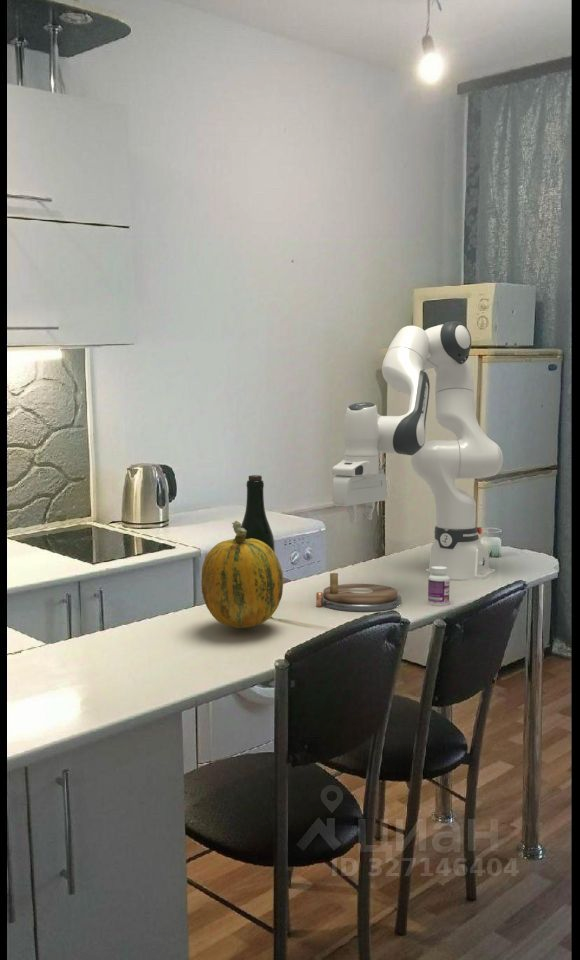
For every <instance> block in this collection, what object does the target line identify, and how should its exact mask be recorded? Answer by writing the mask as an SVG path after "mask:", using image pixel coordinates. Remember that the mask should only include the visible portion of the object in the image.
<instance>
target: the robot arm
mask: <svg viewBox="0 0 580 960" xmlns="http://www.w3.org/2000/svg"><path fill="white" fill-rule="evenodd" d="M471 347H472V337H471V333H470V330H469V329H468V327H466V325H465V324H464V323H462V322H461V321H446V322H444V324H443V323H442V324H438V325H436V326H432V327H428V328H426V329H425V330H424V328H421V327H420V326H417V325H406V326H403V327H402V328H401V329H399V330H398V331H397V333H396V335H395V336H394V337H393V338H392V341H391V343H390V344H389V346H388V349H387V350H386V353H385V355H384V358H383V361H382V364H381V365H382V366H381V373H382V376H383V379H384V381H385V382H386V383H387V384H388V386H390V387H391V388H392V389H394V390H396V391H398V392H400V393H403V394H406V395H408V396H409V403H408V410H407V412H406V413H405V414H403V415H381V414H379V413H378V407H377V405H376V404H375V403H372V402H355V403H353V404H350V405H349V406H347V408H346V411H345V416H344V426H343V429H344V430H343V440H344V444H345V448H344V452H343V459H341V461H340V462H339V463H336V465H334V466H332V468H331V469H332V470H331V473H332V475H333V476H334V477H333V480H332V488H331V489H332V494H331V495H332V502H333V505H334V506H337V507H346V512H347V513H348V516H349V517H348V518H349V523H354V524H355V523H358V522H359V516H360V515H357V511H356V510H357V507H358V506H357V505H364V504H365V510H364V511H365V512H363V514H362V515H363V516H362V517H363V520H364V521H371V520H372V519H373V513H374V510H375V507H376V502H383V501H386V500H387V497H388V484H387V476H386V474H385V470H384V468H383V467H382V466H381V465H380V461H379V460H380V455H379V454H398V455H407V456H411V458H410V461H411V462H410V463H411V467H412V469H413V471H414V472H415V474H416V475H417V476H419V477H420V478H421V479H422V480H423V481H425V483H426V484H427V485H428V486H429V488H430V490H431V492H432V494H433V496H434V497H433V498H434V500H435V501H434V502H435V512H436V513H435V514H436V518H435V519H436V525H435V526H434V531H433V534H434V540H435V541H434V542H433V543H432V544H431V546H430V553H429V555H430V556H429V566H428V568H425V571H426V572H427V573H429V576H430V575H432V573H431V567H434V566H442V567H447V573H446V575H447V576H448V577H449V579H450V581H451V580H452V581H453V580H454V581H467V580H468V581H469V580H485V579H487V578H488V577H489V576H490V575H491V574H493V573H494V572H495V571H496V569H495V568H491V567H490V554H489V551H488V550H487V549H486V548H485V547H484V545H483V544H482V543H481V542H480V541H479V539H480V535H482V533H483V528H482V527H481V526H479V527H477V526H476V525H477V521H476V520H477V503H476V500H475V499H474V497H473V496H472V495H471V494H470V493H467V492H466V491H464V490H462V489H460V488H458V487H457V486H456V484H455V480H457V479H485V478H489V477H494V476H496V475H497V474H499V472H500V471H501V469H502V467H503V463H504V455H503V451H502V449H501V448H500V446H499V445H498V444H497V443H496V442H495V441H493V440H492V439H491V438H489V437H488V435H487V434H486V433H485V432H484V431H483V430H482V428H481V426H480V424H479V422H478V418H477V414H476V406H475V405H476V404H475V403H476V402H475V389H474V388H475V387H474V380H473V379H474V378H473V375H472V371H471V366H470V364H469V362H468V361H467V360H468V359H469V356H470V352H471ZM430 369H434V371H435V374H436V375H435V386H434V393H435V394H434V396H435V398H434V399H435V403H434V404H435V419H436V421H437V423H438V424H439V425H440V426H441V427H442V428H444V429H446V430H448V431H450V432H451V433H453V434H454V435H455V436H456V438H457V439H433V440H432V439H431V440H428V441H427V440H426V421H427V415H428V414H427V413H428V407H429V398H430V391H431V390H430V389H431V388H430V387H431V385H430V378H429V375H428V374H427V372H426V370H430Z"/></svg>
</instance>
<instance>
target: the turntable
mask: <svg viewBox="0 0 580 960" xmlns="http://www.w3.org/2000/svg"><path fill="white" fill-rule="evenodd" d="M322 593H323V597H324V598H325V599H326V600H329V601H332V602H337V603H343V604H355V605H371V604H383V603H388V602H392V601H395V600H396V599H397V598H398V595H399V592H398V589H396V588H395V587H391V586H387V585H381V584H372V583H344V584H339V573H337V572H331V573H330V574H329V586H327V587H325V588H324V589H323V591H322Z"/></svg>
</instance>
